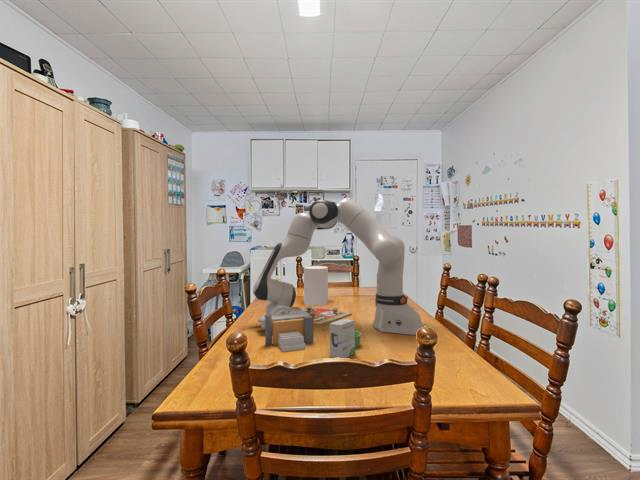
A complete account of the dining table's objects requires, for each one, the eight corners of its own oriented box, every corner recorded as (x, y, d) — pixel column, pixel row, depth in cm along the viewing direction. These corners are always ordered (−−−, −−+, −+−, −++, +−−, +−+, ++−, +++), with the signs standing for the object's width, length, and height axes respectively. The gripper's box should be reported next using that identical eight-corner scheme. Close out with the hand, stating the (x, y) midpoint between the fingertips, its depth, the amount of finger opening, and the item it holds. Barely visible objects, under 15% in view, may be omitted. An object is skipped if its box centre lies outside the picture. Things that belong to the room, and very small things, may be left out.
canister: (322, 299, 218) (322, 265, 217) (331, 304, 205) (331, 268, 204) (300, 301, 213) (300, 266, 212) (308, 306, 201) (308, 269, 200)
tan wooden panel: (273, 344, 135) (273, 322, 135) (272, 343, 137) (272, 321, 136) (311, 339, 140) (311, 318, 140) (309, 338, 142) (309, 317, 141)
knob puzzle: (318, 329, 161) (318, 318, 160) (269, 318, 179) (269, 309, 178) (354, 315, 184) (354, 306, 184) (308, 306, 202) (308, 298, 202)
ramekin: (354, 350, 132) (354, 338, 132) (332, 346, 137) (332, 335, 136) (364, 343, 140) (364, 331, 140) (343, 339, 144) (343, 328, 144)
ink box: (341, 361, 122) (341, 325, 122) (328, 357, 126) (328, 322, 125) (356, 353, 129) (355, 320, 128) (343, 350, 132) (343, 317, 132)
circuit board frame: (306, 334, 151) (306, 305, 150) (323, 350, 132) (323, 317, 131) (256, 340, 144) (256, 309, 143) (267, 358, 125) (267, 323, 125)
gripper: (256, 311, 154) (263, 319, 141) (304, 307, 161) (314, 314, 148) (256, 326, 154) (263, 336, 141) (304, 321, 161) (314, 330, 148)
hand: (290, 325), depth 145 cm, fingers closed
